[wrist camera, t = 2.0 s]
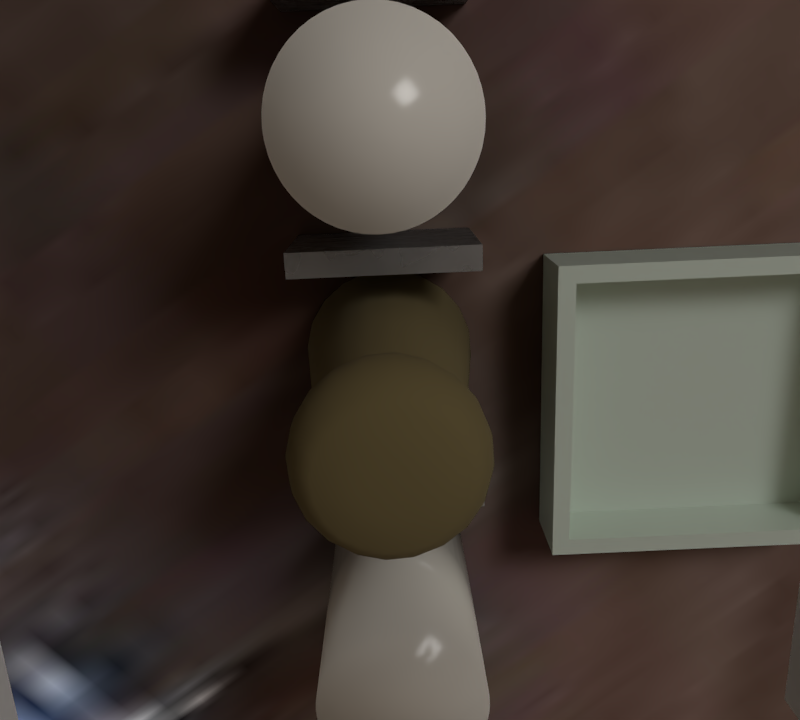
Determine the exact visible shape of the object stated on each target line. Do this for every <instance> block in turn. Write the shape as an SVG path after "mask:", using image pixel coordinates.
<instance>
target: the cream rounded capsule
mask: <svg viewBox="0 0 800 720" xmlns="http://www.w3.org/2000/svg"><path fill="white" fill-rule="evenodd" d="M489 710H490V697H489V690H488V684H487V679H486V673H485V668H484V662H483V656H482V651H481V645H480V640H479V634H478V629H477V623H476V617H475V612H474V606H473V601H472V595H471V590H470V584H469V578H468V573H467V567H466V562H465V556H464V551H463V545H462V539H461V534H460V533H459V534H458V535H456V536H455V537H454V538H453V539H451V540H450V541H449V542H447V543H446V544H445V545H443V546H441V547H438V548H436V549H433V550H431V551H428V552H426V553H423V554H420V555H418V556H415V557H411V558H400V559H390V560H383V559H378V558H372V557H367V556H361V555H357V554H354V553H352V552H350V551H348V550H346V549H344V548H342V547H340V546H338V545H335V553H334V561H333V569H332V577H331V585H330V592H329V600H328V608H327V616H326V624H325V632H324V640H323V648H322V656H321V664H320V672H319V680H318V688H317V696H316V715H317V720H488V716H489Z"/></svg>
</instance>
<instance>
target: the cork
mask: <svg viewBox="0 0 800 720" xmlns="http://www.w3.org/2000/svg"><path fill="white" fill-rule="evenodd" d="M308 356H309V367H310V378H311V389H310V390H309V392H308V393H307V395H306V397H305V398H304V400H303V402H302V404H301V405H300V407H299V409H298V411H297V412H296V414H295V416H294V418H293V421H292V423H291V426H290V432H289V437H288V442H287V448H286V453H285V458H286V464H287V470H288V477H289V483H290V488H291V491H292V495H293V496H294V498H295V500H296V502H297V504H298V506H299V508H300V509H301V511H302V513H303V515H304V517H305V519H306V520H307V521H308V522H309V523H310V524H311V525H312V526H313V527H314V528H315V529H316V530H317V531H318V532H320V533H321V534H322V535H323V536H324V537H325V538H326V539H327V540H328V541H330V542H332V543H334V544H336V545H338V546H340V547H342V548H344V549H346V550H348V551H350V552H352V553H354V554H357V555H361V556H367V557H372V558H378V559H383V560H390V559H400V558H411V557H415V556H418V555H420V554H423V553H426V552H428V551H431V550H433V549H436V548H438V547H441V546H443V545H445V544H446V543H447V542H449V541H450V540H451V539H453V538H454V537H455V536H456V535H458V534H459V533H460V532H461V531H463V530H464V529H465V528H467V527H468V525H469V524H470V523H471V521H472V520H473V518H474V517H475V515H476V514H477V512H478V511H479V509H480V508H481V506H482V505H483V503H484V501H485V498H486V494H487V491H488V487H489V483H490V480H491V476H492V472H493V468H494V452H493V438H492V433H491V430H490V427H489V425H488V423H487V420H486V418H485V416H484V414H483V411H482V409H481V407H480V404H479V402H478V400H477V398H476V397H475V396H474V395H473V394H472V393H471V391H470V390H469V389H468V383H469V370H470V358H471V352H470V339H469V329H468V327H467V325H466V322H465V320H464V318H463V315H462V313H461V311H460V308H459V307H458V306H457V305H456V303H455V302H454V301H453V300H452V299H451V298H450V297H449V296H448V294H447V293H446V292H445V291H444V290H443V289H442V288H441V287H439V286H437V285H435V284H434V283H432V282H430V281H428V280H427V279H425V278H423V277H421V276H420V275H415V274H398V275H375V276H359V277H357V278H354V279H352V280H350V281H348V282H345V283H343V284H342V285H341V286H340V287H339V288H338V289H337V290H336V291H335V292H333V293H332V294H331V295H330V296H329V297H328V298H327V299H326V300H325V301H324V302H323V304H322V306H321V308H320V309H319V311H318V313H317V315H316V317H315V318H314V320H313V322H312V326H311V331H310V337H309V342H308Z"/></svg>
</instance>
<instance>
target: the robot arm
mask: <svg viewBox="0 0 800 720" xmlns="http://www.w3.org/2000/svg"><path fill="white" fill-rule="evenodd" d="M785 701H786V702H787V703H788V705H789V706H790V708H791V709H792V711H793V712H794V714H795V715H796V716H797V718H798V719H799V720H800V584H799V592H798V600H797V607H796V615H795V623H794V631H793V638H792V646H791V654H790V661H789V669H788V677H787V685H786V692H785ZM0 720H18V716H17V712H16V708H15V704H14V699H13V695H12V691H11V686H10V682H9V678H8V673H7V669H6V665H5V660H4V656H3V652H2V647H1V643H0Z"/></svg>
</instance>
